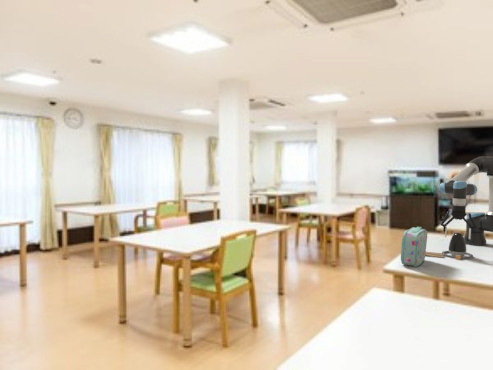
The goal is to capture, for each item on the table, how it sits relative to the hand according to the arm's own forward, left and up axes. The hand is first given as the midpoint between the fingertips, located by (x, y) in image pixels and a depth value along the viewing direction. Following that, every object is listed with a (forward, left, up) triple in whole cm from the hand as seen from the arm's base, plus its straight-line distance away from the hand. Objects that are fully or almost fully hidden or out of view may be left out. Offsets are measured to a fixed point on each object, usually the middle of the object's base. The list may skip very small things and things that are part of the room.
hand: (457, 237), depth 253 cm
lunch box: (+31, -25, -12) cm, 42 cm away
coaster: (+5, -13, -12) cm, 18 cm away
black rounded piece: (0, 0, -12) cm, 12 cm away
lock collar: (0, 0, -12) cm, 12 cm away
